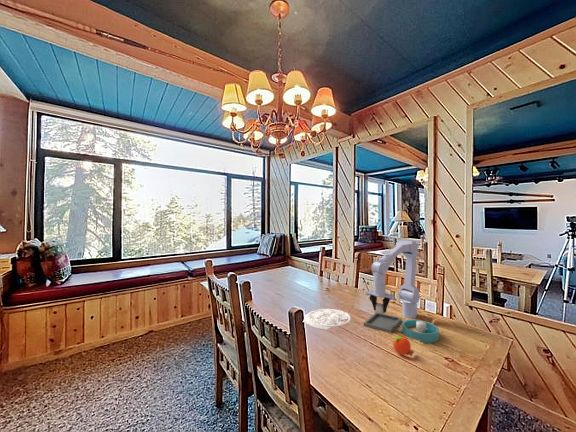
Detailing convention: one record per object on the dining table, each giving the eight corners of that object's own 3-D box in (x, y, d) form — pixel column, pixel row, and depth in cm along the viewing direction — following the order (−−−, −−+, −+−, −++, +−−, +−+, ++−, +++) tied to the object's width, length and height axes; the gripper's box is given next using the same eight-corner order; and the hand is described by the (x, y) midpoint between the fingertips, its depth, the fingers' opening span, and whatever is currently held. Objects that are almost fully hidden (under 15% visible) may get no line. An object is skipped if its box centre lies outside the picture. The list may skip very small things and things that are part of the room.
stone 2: (417, 328, 132) (417, 320, 132) (426, 330, 129) (426, 322, 129) (415, 331, 128) (415, 323, 128) (425, 333, 126) (425, 325, 125)
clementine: (398, 359, 106) (398, 342, 106) (387, 350, 112) (387, 334, 112) (414, 355, 108) (414, 338, 108) (402, 347, 115) (402, 331, 115)
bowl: (407, 324, 138) (406, 317, 138) (441, 332, 128) (441, 324, 127) (397, 336, 125) (397, 327, 125) (435, 346, 115) (435, 337, 115)
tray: (376, 316, 149) (376, 312, 149) (401, 322, 140) (401, 318, 140) (363, 327, 135) (363, 322, 135) (391, 335, 126) (390, 330, 126)
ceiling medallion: (355, 332, 131) (355, 326, 131) (300, 328, 137) (300, 323, 137) (352, 311, 158) (352, 306, 158) (307, 309, 164) (307, 304, 164)
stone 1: (377, 310, 138) (377, 302, 138) (385, 311, 135) (385, 304, 135) (374, 312, 134) (374, 305, 134) (382, 314, 132) (382, 306, 131)
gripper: (363, 284, 136) (363, 310, 136) (391, 289, 127) (391, 316, 127) (368, 281, 141) (368, 306, 142) (395, 285, 132) (396, 312, 132)
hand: (380, 310), depth 135 cm, fingers closed on stone 1, 4 cm apart
